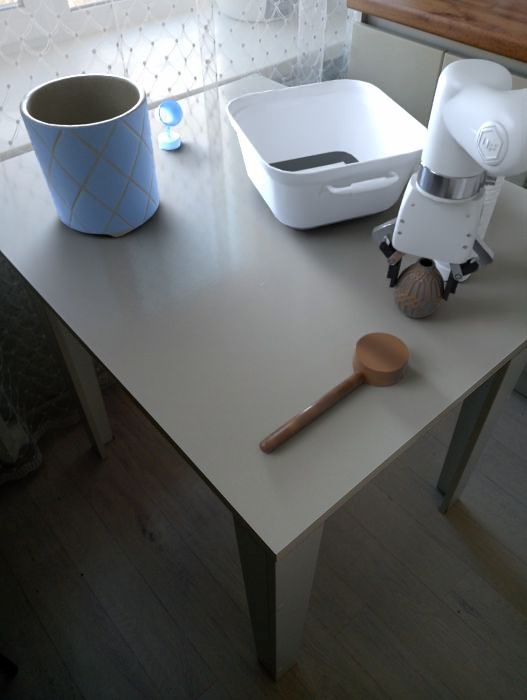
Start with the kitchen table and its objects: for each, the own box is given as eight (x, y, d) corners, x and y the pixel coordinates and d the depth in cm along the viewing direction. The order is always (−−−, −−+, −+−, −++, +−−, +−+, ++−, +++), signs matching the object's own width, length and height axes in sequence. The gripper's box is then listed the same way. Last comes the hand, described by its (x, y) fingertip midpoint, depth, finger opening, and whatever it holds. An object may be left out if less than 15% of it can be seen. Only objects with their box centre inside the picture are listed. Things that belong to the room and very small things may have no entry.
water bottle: (458, 289, 85) (512, 132, 66) (421, 271, 88) (462, 116, 69) (484, 262, 89) (541, 108, 71) (448, 245, 92) (494, 94, 74)
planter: (183, 195, 103) (169, 85, 88) (124, 253, 91) (96, 138, 76) (98, 173, 108) (72, 65, 93) (33, 225, 97) (-9, 112, 82)
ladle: (376, 339, 78) (379, 324, 76) (415, 368, 74) (419, 353, 72) (242, 434, 67) (241, 420, 65) (280, 473, 64) (281, 459, 62)
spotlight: (188, 149, 114) (175, 135, 118) (183, 101, 107) (169, 87, 111) (166, 155, 113) (153, 141, 117) (159, 106, 105) (145, 93, 109)
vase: (446, 307, 82) (461, 261, 76) (421, 332, 79) (435, 285, 72) (407, 287, 85) (418, 240, 79) (381, 309, 82) (391, 263, 76)
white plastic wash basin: (436, 234, 94) (458, 153, 83) (280, 271, 88) (282, 189, 77) (348, 143, 116) (356, 69, 105) (218, 167, 109) (212, 92, 99)
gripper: (528, 173, 66) (484, 286, 79) (385, 148, 70) (366, 259, 84) (523, 207, 61) (478, 321, 75) (370, 177, 66) (353, 290, 79)
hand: (419, 287), depth 79 cm, fingers closed on vase, 6 cm apart
